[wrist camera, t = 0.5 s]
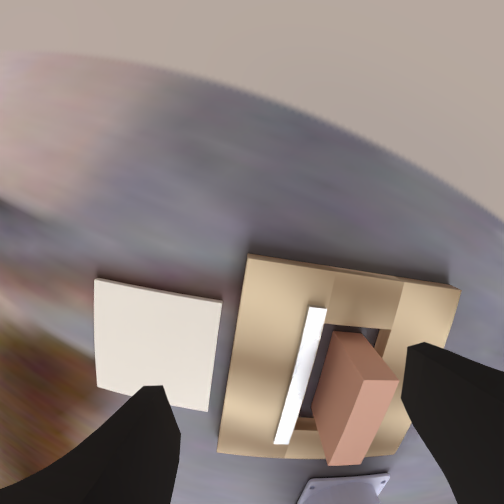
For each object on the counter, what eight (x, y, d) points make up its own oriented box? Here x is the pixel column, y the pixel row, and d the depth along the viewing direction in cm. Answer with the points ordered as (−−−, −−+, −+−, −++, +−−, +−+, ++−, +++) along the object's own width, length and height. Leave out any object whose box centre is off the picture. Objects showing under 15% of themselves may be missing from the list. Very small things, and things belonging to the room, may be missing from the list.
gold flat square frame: (388, 443, 21) (396, 458, 19) (218, 438, 20) (216, 457, 18) (449, 284, 19) (465, 292, 17) (247, 253, 18) (247, 259, 16)
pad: (208, 407, 20) (207, 411, 19) (100, 383, 19) (97, 386, 19) (222, 300, 18) (222, 303, 18) (97, 277, 18) (94, 279, 18)
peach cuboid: (337, 407, 20) (360, 464, 14) (310, 406, 20) (328, 465, 14) (361, 333, 19) (399, 380, 13) (332, 330, 19) (363, 379, 13)
